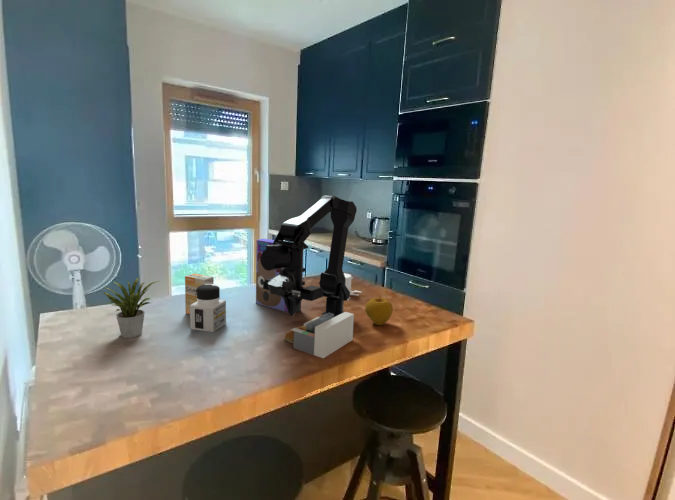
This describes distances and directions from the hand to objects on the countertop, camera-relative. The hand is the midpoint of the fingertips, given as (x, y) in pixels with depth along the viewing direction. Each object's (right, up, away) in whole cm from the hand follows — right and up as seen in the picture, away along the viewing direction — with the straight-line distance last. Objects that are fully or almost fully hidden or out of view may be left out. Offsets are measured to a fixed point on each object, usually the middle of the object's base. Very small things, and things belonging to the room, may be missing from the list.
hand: (291, 315), depth 112 cm
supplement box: (-33, -2, +13) cm, 35 cm away
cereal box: (-8, -1, +24) cm, 25 cm away
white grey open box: (+9, -7, -4) cm, 12 cm away
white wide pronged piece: (+15, +1, +45) cm, 47 cm away
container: (-26, -4, +3) cm, 27 cm away
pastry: (+4, -7, -3) cm, 8 cm away
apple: (+27, -5, +12) cm, 30 cm away
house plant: (-45, -4, -4) cm, 45 cm away
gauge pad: (+8, -7, -5) cm, 12 cm away
